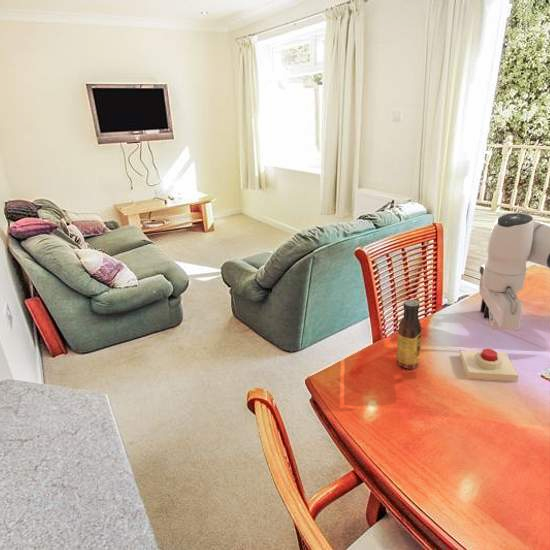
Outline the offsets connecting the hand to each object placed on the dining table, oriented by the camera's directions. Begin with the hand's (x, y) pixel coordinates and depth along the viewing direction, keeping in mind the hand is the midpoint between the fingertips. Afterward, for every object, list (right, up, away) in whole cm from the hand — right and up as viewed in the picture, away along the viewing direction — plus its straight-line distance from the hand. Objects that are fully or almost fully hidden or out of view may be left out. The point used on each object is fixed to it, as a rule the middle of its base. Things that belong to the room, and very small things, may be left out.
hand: (493, 326), depth 99 cm
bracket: (+15, -1, +29) cm, 32 cm away
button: (+1, -9, +4) cm, 10 cm away
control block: (+1, -12, +6) cm, 14 cm away
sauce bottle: (-19, -12, +10) cm, 25 cm away
